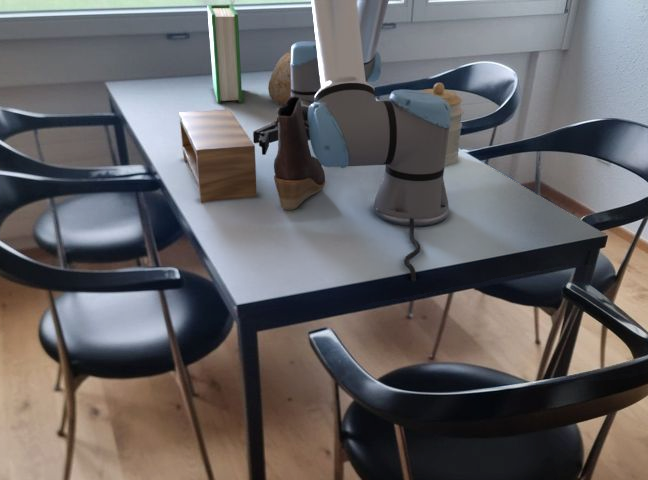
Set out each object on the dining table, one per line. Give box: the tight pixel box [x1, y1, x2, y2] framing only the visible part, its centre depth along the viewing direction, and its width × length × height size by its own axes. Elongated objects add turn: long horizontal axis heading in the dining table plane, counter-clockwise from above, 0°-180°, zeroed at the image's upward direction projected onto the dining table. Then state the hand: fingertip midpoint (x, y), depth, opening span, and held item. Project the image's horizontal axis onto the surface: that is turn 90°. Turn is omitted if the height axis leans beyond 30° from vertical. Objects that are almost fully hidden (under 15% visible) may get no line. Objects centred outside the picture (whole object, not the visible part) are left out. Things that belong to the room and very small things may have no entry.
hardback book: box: [206, 4, 243, 105], centre depth 208 cm, size 18×7×24 cm, turn 12°
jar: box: [420, 82, 465, 166], centre depth 165 cm, size 13×13×18 cm
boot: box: [273, 97, 326, 211], centre depth 145 cm, size 9×24×20 cm, turn 168°
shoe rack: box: [178, 108, 258, 203], centre depth 155 cm, size 28×12×11 cm, turn 17°
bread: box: [267, 50, 291, 106], centre depth 208 cm, size 26×23×15 cm
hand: (294, 149), depth 150 cm, fingers open, 13 cm apart
